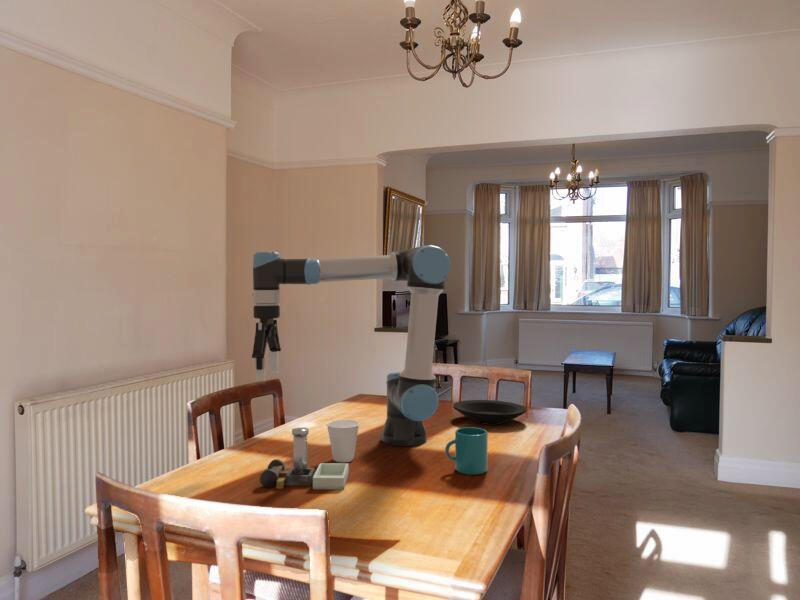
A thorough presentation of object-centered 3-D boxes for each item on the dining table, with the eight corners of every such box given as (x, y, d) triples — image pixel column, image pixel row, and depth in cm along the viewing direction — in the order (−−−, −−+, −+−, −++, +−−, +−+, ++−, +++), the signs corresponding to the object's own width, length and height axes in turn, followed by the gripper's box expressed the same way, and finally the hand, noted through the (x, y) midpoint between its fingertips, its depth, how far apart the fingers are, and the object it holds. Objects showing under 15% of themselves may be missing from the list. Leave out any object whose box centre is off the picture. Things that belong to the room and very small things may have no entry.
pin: (310, 478, 163) (309, 427, 162) (307, 484, 158) (306, 431, 158) (294, 478, 163) (293, 427, 162) (290, 484, 158) (290, 431, 158)
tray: (348, 474, 166) (348, 463, 166) (343, 489, 154) (343, 478, 154) (319, 473, 166) (319, 463, 166) (312, 489, 154) (312, 477, 154)
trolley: (315, 475, 165) (315, 459, 165) (309, 488, 155) (309, 471, 155) (269, 474, 166) (268, 459, 166) (259, 488, 155) (259, 471, 155)
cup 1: (364, 456, 182) (364, 421, 182) (351, 466, 173) (351, 428, 173) (335, 453, 186) (335, 418, 185) (320, 463, 176) (320, 426, 176)
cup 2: (442, 466, 173) (442, 427, 173) (482, 464, 175) (483, 426, 174) (448, 476, 164) (448, 436, 164) (490, 475, 166) (491, 434, 165)
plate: (535, 419, 230) (535, 405, 230) (512, 433, 210) (512, 417, 209) (469, 410, 245) (469, 397, 245) (441, 423, 225) (441, 408, 224)
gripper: (266, 302, 188) (266, 370, 188) (240, 306, 163) (240, 384, 164) (289, 302, 187) (290, 370, 188) (267, 306, 162) (267, 384, 163)
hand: (267, 376), depth 176 cm, fingers open, 13 cm apart
